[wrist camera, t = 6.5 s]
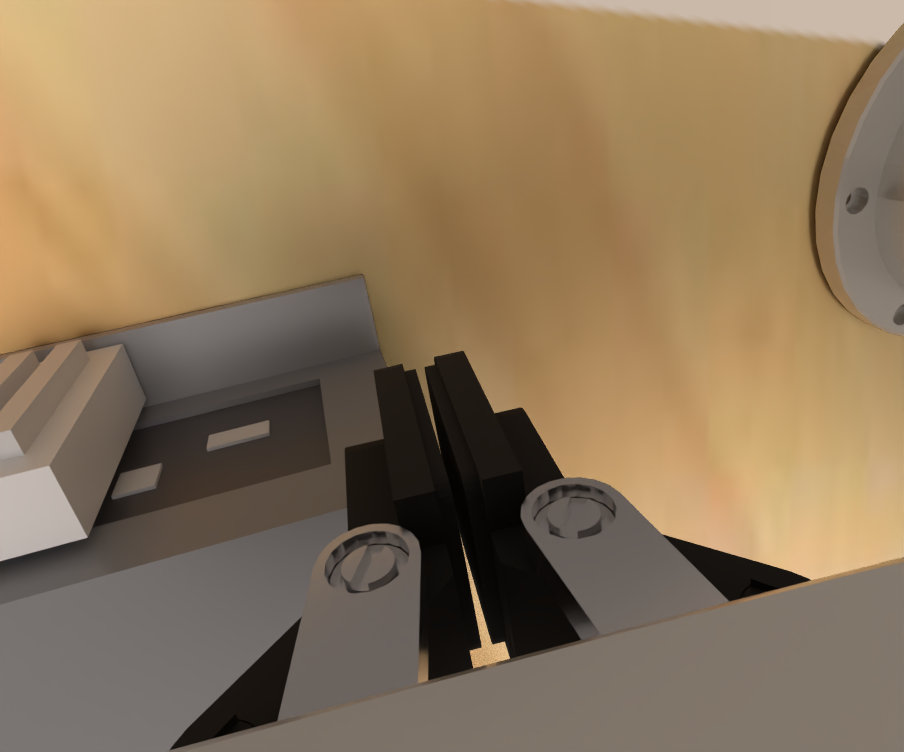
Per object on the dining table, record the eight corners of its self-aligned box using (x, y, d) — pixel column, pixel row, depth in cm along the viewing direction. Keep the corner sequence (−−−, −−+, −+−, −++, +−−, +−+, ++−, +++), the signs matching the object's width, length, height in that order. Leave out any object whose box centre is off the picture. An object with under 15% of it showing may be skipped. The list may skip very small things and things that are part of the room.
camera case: (362, 274, 19) (416, 397, 12) (430, 575, 25) (498, 791, 17) (-185, 396, 17) (-562, 648, 9) (25, 697, 22) (-104, 1009, 15)
